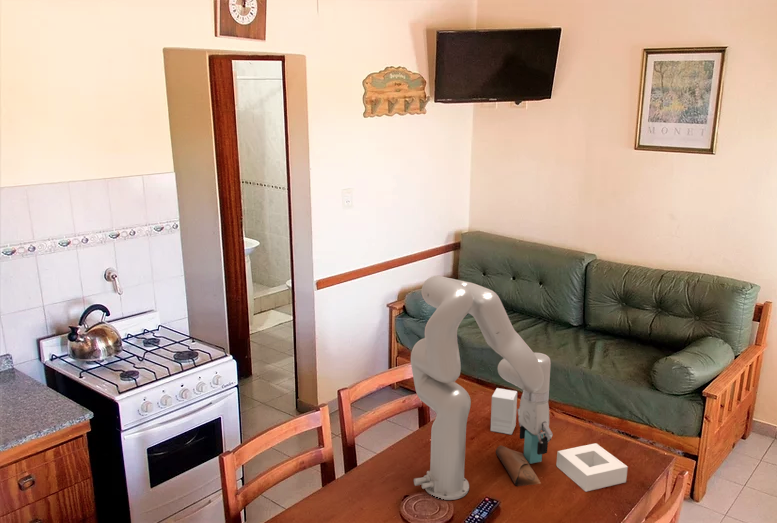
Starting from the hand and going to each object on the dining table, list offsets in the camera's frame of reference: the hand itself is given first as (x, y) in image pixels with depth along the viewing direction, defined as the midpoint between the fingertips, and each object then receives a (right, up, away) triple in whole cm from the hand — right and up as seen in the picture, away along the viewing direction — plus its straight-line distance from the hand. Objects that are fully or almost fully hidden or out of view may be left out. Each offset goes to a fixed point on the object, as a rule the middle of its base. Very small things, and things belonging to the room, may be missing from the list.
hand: (533, 445), depth 195 cm
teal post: (0, -4, +1) cm, 5 cm away
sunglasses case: (-6, -6, -4) cm, 9 cm away
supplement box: (-6, 0, +20) cm, 21 cm away
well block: (+15, -6, -7) cm, 18 cm away
